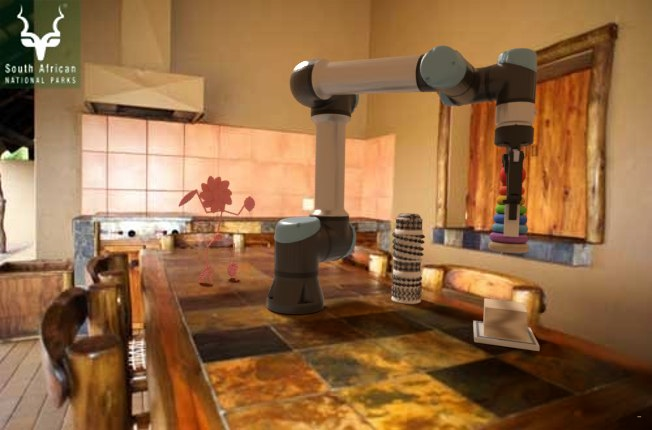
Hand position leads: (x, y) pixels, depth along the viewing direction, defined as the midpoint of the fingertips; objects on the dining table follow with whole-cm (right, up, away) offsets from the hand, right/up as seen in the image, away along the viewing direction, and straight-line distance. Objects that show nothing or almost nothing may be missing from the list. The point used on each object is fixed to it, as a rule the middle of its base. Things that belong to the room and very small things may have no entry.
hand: (508, 234), depth 84 cm
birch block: (-1, -21, +1) cm, 21 cm away
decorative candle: (-16, -21, +30) cm, 40 cm away
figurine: (-77, -18, +49) cm, 93 cm away
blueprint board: (-1, -22, +1) cm, 22 cm away
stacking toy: (0, -4, 0) cm, 4 cm away
